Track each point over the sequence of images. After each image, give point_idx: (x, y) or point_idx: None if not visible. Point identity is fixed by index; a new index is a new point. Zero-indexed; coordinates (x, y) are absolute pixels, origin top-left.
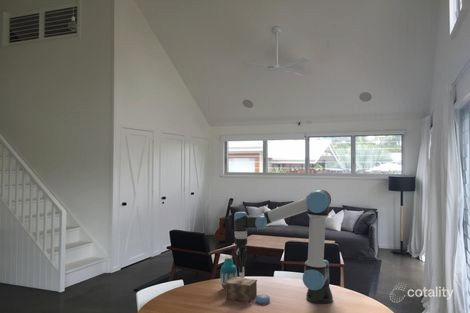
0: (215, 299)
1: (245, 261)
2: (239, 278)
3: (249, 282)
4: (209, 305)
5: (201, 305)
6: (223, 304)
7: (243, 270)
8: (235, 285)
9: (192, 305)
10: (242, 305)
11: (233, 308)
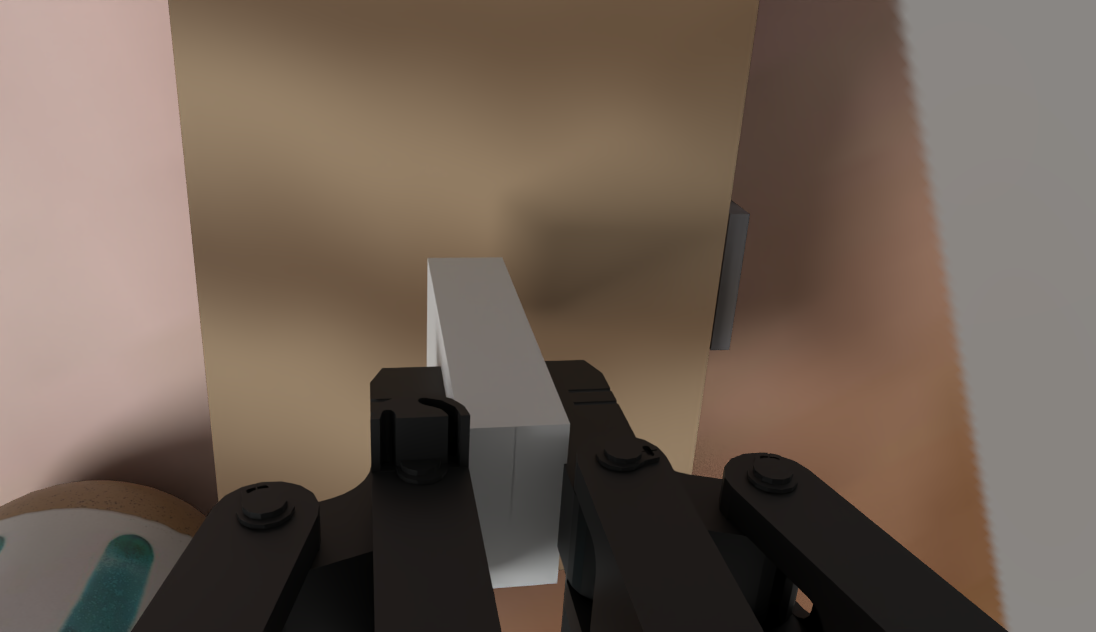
0: None
1: (250, 571)
2: (287, 423)
3: (513, 36)
4: (872, 456)
5: (891, 536)
6: (798, 314)
7: (523, 354)
8: (731, 303)
9: None
10: (768, 20)
11: (916, 108)
